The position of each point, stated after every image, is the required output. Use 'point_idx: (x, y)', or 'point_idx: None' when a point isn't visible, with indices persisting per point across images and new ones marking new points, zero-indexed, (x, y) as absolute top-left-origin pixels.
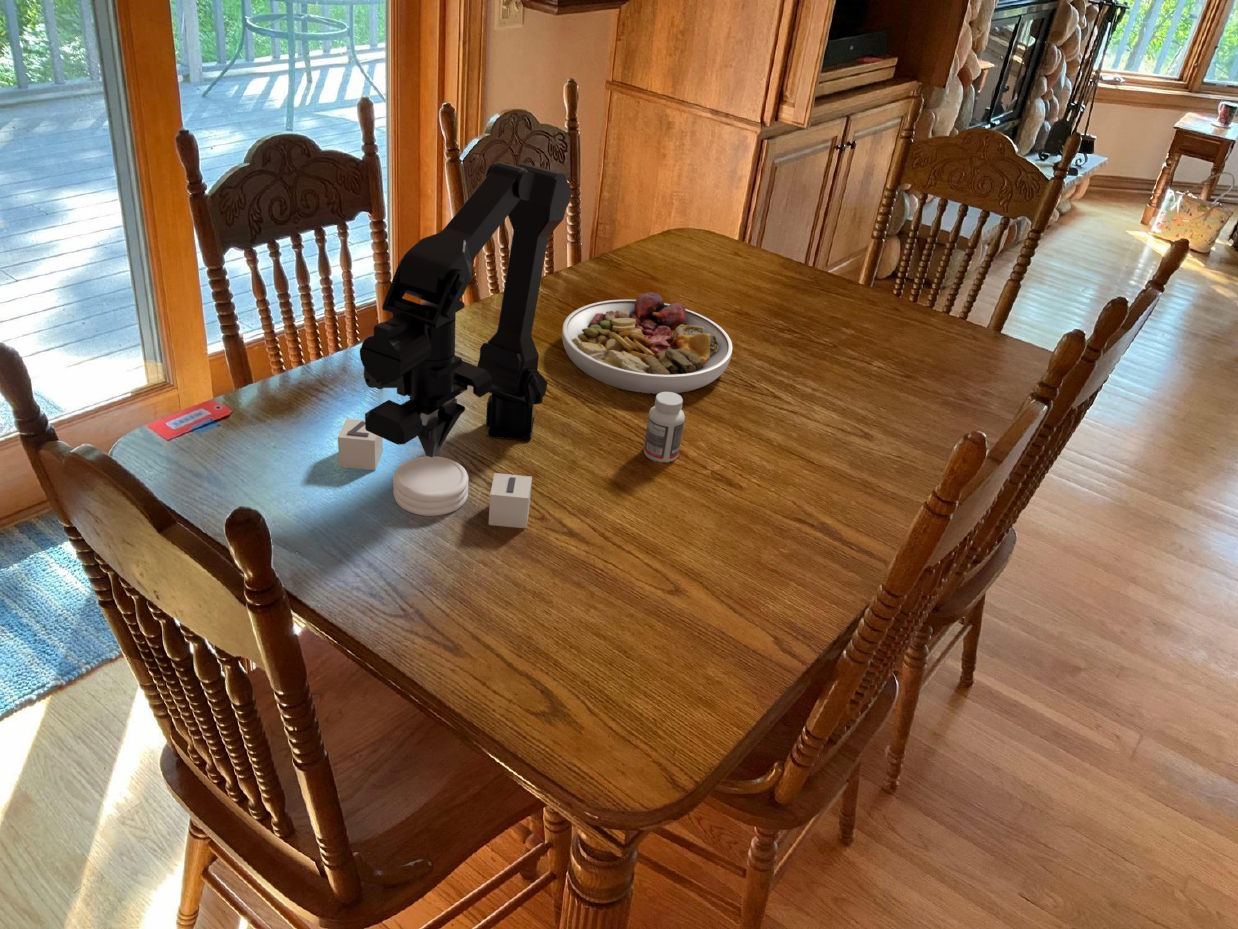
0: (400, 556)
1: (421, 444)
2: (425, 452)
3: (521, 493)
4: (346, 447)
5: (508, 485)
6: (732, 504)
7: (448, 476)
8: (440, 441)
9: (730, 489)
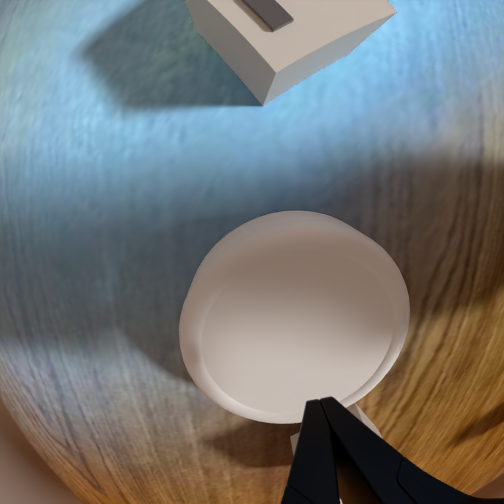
0: (102, 398)
1: (298, 440)
2: (303, 413)
3: (340, 501)
4: (200, 10)
5: None
6: (462, 473)
7: (333, 377)
8: (340, 493)
9: (482, 458)
